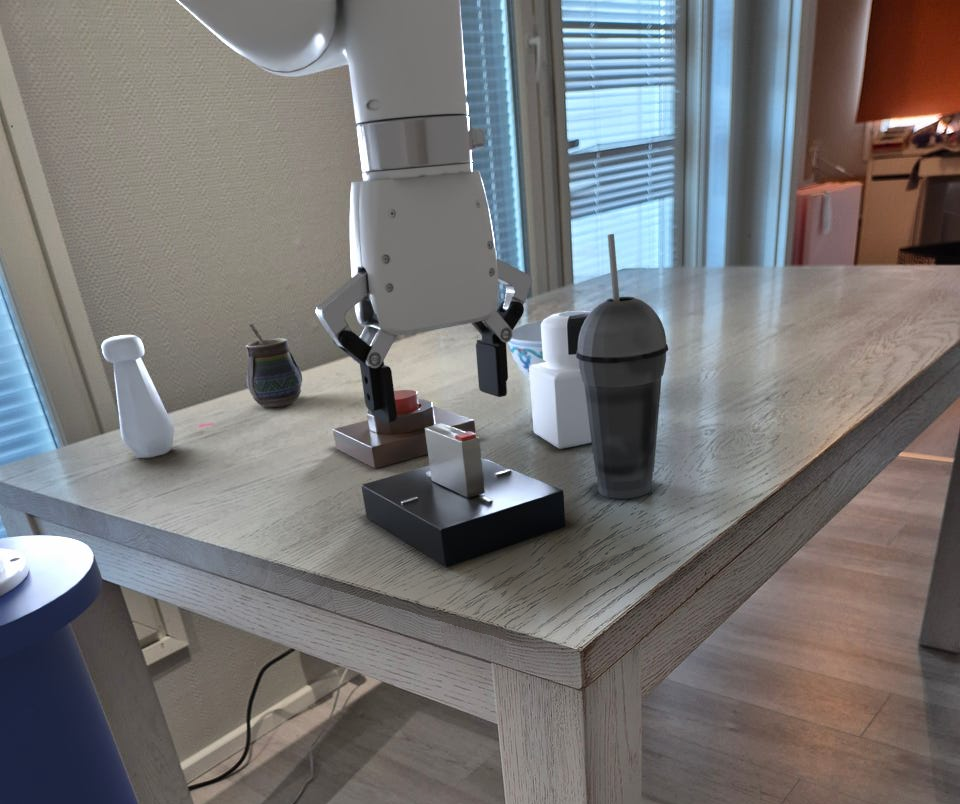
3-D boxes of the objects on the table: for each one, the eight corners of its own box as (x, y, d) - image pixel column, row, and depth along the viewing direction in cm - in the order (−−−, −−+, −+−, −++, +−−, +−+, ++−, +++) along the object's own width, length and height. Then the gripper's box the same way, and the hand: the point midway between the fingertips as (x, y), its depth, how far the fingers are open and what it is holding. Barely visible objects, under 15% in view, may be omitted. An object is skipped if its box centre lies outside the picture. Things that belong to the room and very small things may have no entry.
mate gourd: (272, 413, 112) (255, 332, 107) (240, 407, 116) (221, 330, 111) (316, 399, 116) (301, 321, 111) (283, 394, 121) (267, 319, 116)
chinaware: (552, 376, 113) (548, 314, 110) (657, 382, 105) (657, 315, 101) (487, 406, 103) (480, 340, 99) (598, 415, 95) (595, 343, 91)
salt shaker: (185, 450, 100) (152, 334, 93) (135, 463, 97) (98, 344, 91) (170, 441, 104) (138, 329, 98) (122, 453, 101) (86, 339, 95)
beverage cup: (610, 511, 70) (601, 242, 60) (567, 487, 76) (553, 239, 66) (685, 491, 72) (688, 228, 62) (637, 469, 78) (634, 226, 68)
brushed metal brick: (431, 480, 72) (423, 424, 70) (447, 475, 72) (441, 420, 70) (467, 498, 67) (461, 438, 65) (485, 493, 68) (479, 433, 66)
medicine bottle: (594, 421, 93) (589, 304, 87) (623, 437, 87) (621, 312, 81) (532, 433, 91) (523, 314, 86) (558, 450, 85) (551, 323, 80)
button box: (375, 468, 86) (368, 429, 84) (336, 448, 94) (329, 412, 92) (476, 440, 91) (472, 402, 89) (431, 423, 99) (427, 388, 97)
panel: (445, 567, 64) (440, 527, 62) (366, 517, 74) (360, 482, 73) (565, 526, 68) (563, 488, 67) (474, 485, 79) (471, 451, 77)
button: (391, 419, 89) (389, 401, 88) (375, 412, 92) (372, 395, 91) (426, 410, 90) (423, 393, 89) (408, 404, 93) (406, 387, 92)
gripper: (493, 147, 65) (507, 378, 73) (275, 164, 58) (318, 419, 66) (551, 140, 59) (559, 392, 67) (317, 159, 52) (358, 439, 60)
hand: (440, 405), depth 67 cm, fingers open, 9 cm apart
